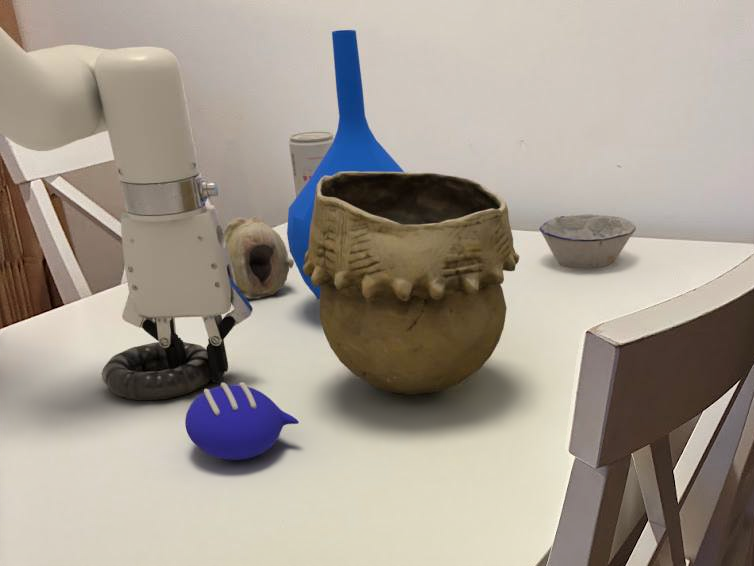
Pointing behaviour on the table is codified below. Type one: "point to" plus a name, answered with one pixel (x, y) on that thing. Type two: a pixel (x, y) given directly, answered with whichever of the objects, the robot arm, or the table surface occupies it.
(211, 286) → the robot arm
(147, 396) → the ring
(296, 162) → the beverage can
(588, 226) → the bowl
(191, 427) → the decorative object
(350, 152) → the vase
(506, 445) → the table surface
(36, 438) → the table surface
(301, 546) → the table surface
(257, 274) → the beige rounded lump
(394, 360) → the clay pot
